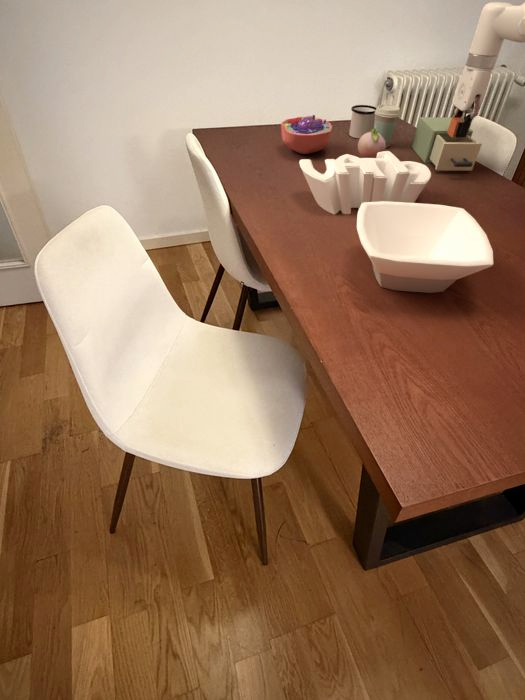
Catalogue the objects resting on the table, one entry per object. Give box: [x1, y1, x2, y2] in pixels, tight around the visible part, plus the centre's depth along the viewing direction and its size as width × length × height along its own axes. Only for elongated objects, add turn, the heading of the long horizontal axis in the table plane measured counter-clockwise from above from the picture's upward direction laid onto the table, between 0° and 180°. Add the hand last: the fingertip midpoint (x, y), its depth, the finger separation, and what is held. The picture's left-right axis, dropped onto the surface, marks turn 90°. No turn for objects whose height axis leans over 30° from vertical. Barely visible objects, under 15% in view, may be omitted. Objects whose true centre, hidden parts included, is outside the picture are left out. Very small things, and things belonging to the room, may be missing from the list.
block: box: [447, 116, 472, 138], centre depth 122 cm, size 4×4×4 cm
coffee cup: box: [373, 104, 401, 149], centre depth 139 cm, size 8×8×12 cm
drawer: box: [428, 134, 483, 172], centre depth 125 cm, size 18×11×8 cm, turn 1°
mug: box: [348, 104, 377, 140], centre depth 148 cm, size 12×10×9 cm
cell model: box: [280, 114, 333, 155], centre depth 134 cm, size 17×20×11 cm
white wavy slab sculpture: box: [299, 150, 432, 215], centre depth 107 cm, size 35×16×11 cm, turn 91°
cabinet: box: [411, 116, 474, 164], centre depth 134 cm, size 15×13×10 cm
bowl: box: [356, 201, 494, 294], centre depth 82 cm, size 24×25×10 cm
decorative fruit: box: [357, 129, 386, 158], centre depth 128 cm, size 9×8×10 cm
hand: (457, 133), depth 123 cm, fingers closed on block, 4 cm apart
